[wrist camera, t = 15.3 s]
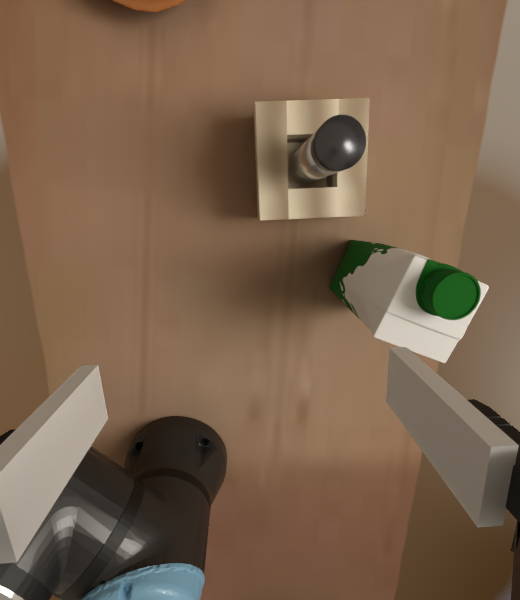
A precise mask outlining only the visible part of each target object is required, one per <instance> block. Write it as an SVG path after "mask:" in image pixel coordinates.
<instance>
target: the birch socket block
mask: <svg viewBox="0 0 520 600" xmlns="http://www.w3.org/2000/svg"><path fill="white" fill-rule="evenodd" d="M369 100H370V98H353V99H323V100H293V101H263V102H255V108H254V137H255V161H256V185H257V208H258V219H259V220H281V219H303V218H326V217H348V216H365V200H366V175H367V150H368V125H369ZM336 115H349V116H351V117H353V118H355V119H356V120H358V121H359V122H360V124H361V125H362V127H363V129H364V131H365V134H366V147H365V151H364V153H363V156H362V157H361V159H360V160H359V161H358V162H357V163H356V164H355V165H354V166H352V167H351V168H348V169H346V170H343V171H340V172H337V173H335V174H332V175H329V176H326V177H324V178H321V179H318V180H315V181H312V182H310V183H305V184H304V183H299V182H297V181H295V180H294V179H293V178H292V177H291V175H290V172H289V161H290V158H291V157H292V155H293V154H294V153H295V152H296V151H297V150H298V149H299V148H300V147H301V146H302V145H303V144H304V143H305V142H306V141H307V140H308V139H309V138H310V136H311V135H312V134H313V133H314V132H315V131H316V130H317V129H318V128H319V127H320V126H321V125H322V124H323V123H324V122H325V121H326V120H328V119H329V118H331V117H333V116H336Z"/></svg>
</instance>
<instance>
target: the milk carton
mask: <svg viewBox="0 0 520 600" xmlns="http://www.w3.org/2000/svg"><path fill="white" fill-rule="evenodd" d="M329 288H330V289H331V290H332V291H333V292H334V293H335V294H336V295H337V297H338V298H339V299H340V300H341V301H342V302H343V303H344V304H345V305H346V306H347V307H348V308H349V309H350V310H351V311H352V312H353V313H354V314H355V315H356V316H357V317H358V318H359V319H360V320H361V321H362V322H363V323H364V324H365V325H366V326H367V327H368V328H369V329H370V330H371V332H372V334H373V337H375V338H377V339H380V340H383V341H386V342H388V343H391V344H394V345H396V346H399V347H407V348H408V349H409V350H410V351H413V352H416V353H418V354H421V355H424V356H426V357H429V358H432V359H435V360H437V361H440V362H443V363H446V361H447V359H448V358H449V356H450V354H451V352H452V351H453V349H454V347H455V345H456V344H457V342H458V340H461V338H462V337H463V335H464V333H465V331H466V329H467V326H468V324H469V323H470V321H471V319H472V318H473V316H474V314H475V312H476V310H477V309H478V307H479V305H480V303H481V301H482V300H483V298H484V296H485V294H486V292H487V290H488V289H489V287H488V285H486V284H484V283H481V282H479V281H477V279H475V278H474V277H473V276H472V275H469V274H468V273H464V272H462V271H461V270H459V269H457V268H455V267H453V266H450V265H447V264H442V263H439V262H436V261H434V260H431V259H429V258H427V257H425V256H422V255H420V254H417V253H413V252H410V251H406V250H403V249H399V248H396V247H392V246H388V245H384V244H380V243H372V242H364V241H356V240H351V241H350V243H349V245H348V248H347V250H346V252H345V254H344V256H343V259H342V261H341V263H340V265H339V267H338V270H337V272H336V274H335V276H334V278H333V281H332V283H331V285H330V287H329Z"/></svg>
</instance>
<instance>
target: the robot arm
mask: <svg viewBox="0 0 520 600" xmlns="http://www.w3.org/2000/svg"><path fill="white" fill-rule="evenodd" d="M386 402H387V403H388V404H389V406H390V407H391V409H392V410H393V411H394V413H395V414H396V415H397V417H398V418H399V420H400V421H401V422H402V424H403V425H404V426H405V428H406V429H407V431H408V432H409V433H410V435H411V436H412V437H413V439H414V440H415V442H416V443H417V444H418V446H419V447H420V448H421V450H422V451H423V453H424V454H425V455H426V456H427V458H428V460H429V461H430V462H431V464H432V465H433V466H434V468H435V469H436V471H437V472H438V473H439V475H440V476H441V477H442V478H443V480H444V481H445V483H446V484H447V486H448V487H449V488H450V490H451V491H452V493H453V494H454V495H455V497H456V498H457V499H458V500H459V502H460V504H461V505H462V506H463V508H464V509H465V510H466V512H467V513H468V515H469V516H470V517H471V519H472V520H473V522H474V523H475V524H476V526H477V527H489V526H502V525H504V519H505V514H506V509H508V510H509V511H510V513H512V515H513V516H514V517H515V518H516V519H517V524H516V529H515V534H514V539H513V543H512V549H511V551H513V552H514V559H513V576H512V591H511V600H520V432H519V431H518V430H517V429H515V428H514V427H513V426H510V424H509V423H508V422H507V421H506V420H505V419H503V418H501V416H500V415H499V414H497V413H496V412H495V411H493V410H492V409H491V408H490V407H488V406H486V405H484V404H482V403H480V402H478V401H477V400H474V399H473V400H466V399H465V398H464V397H463V396H462V395H461V394H459V393H458V392H457V391H456V390H455V389H454V388H453V387H451V386H450V385H449V384H448V383H447V382H446V381H445V380H443V379H442V378H441V377H440V376H439V375H438V374H437V373H435V372H434V371H433V370H432V369H431V368H430V367H429V366H427V365H426V364H425V363H424V362H423V361H422V360H421V359H419V358H418V357H417V356H416V355H415V354H414V353H413V352H411V351H410V350H409V349H408V348H407V347H397V348H390V351H389V367H388V382H387V397H386ZM107 420H108V415H107V410H106V405H105V399H104V394H103V388H102V383H101V378H100V372H99V367H98V365H86V366H80V367H79V368H78V369H77V370H76V371H75V372H74V373H73V374H72V375H71V376H70V377H69V378H68V379H67V380H66V381H65V382H64V383H63V384H62V385H61V386H60V387H59V388H58V389H57V390H56V391H54V392H53V393H52V394H51V395H50V396H49V397H48V398H47V399H46V400H45V401H44V403H42V404H41V405H40V406H39V407H38V408H37V409H36V410H35V411H34V412H33V413H32V414H31V415H30V416H29V417H28V418H27V419H26V420H25V421H24V422H23V423H22V424H21V425H20V426H19V427H18V428H17V429H16V430H9V431H8V432H6V433H5V434H3V435H1V436H0V600H49V599H50V598H51V596H52V595H54V596H56V597H58V598H60V599H62V600H200V597H201V592H202V588H203V586H204V581H205V580H204V568H205V558H206V548H207V537H208V527H209V518H210V508H211V505H212V503H213V501H214V499H215V497H216V495H217V493H218V491H219V489H220V487H221V485H222V483H223V481H224V478H225V474H226V466H227V452H226V448H225V445H224V443H223V441H222V439H221V438H220V436H219V435H218V434H217V433H216V432H215V431H214V430H213V429H212V428H211V427H209V426H208V425H206V424H205V423H203V422H201V421H198V420H196V419H192V418H188V417H178V416H176V417H166V418H162V419H159V420H156V421H154V422H152V423H150V424H148V425H147V426H145V427H144V428H143V429H142V430H140V432H139V433H138V434H137V435H136V436H135V438H134V440H133V442H132V444H131V446H130V448H129V450H128V453H127V456H126V461H125V469H123V468H122V467H120V466H119V465H117V464H116V463H114V462H113V461H111V460H110V459H108V458H107V457H106V456H104V455H103V454H101V453H100V452H98V451H97V450H96V449H94V448H93V447H91V445H92V443H93V442H94V440H95V439H96V437H97V436H98V434H99V432H100V431H101V429H102V428H103V426H104V424H105V423H106V421H107Z"/></svg>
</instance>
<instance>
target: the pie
mask: <svg viewBox="0 0 520 600" xmlns="http://www.w3.org/2000/svg"><path fill="white" fill-rule="evenodd" d="M112 1H114V2H116V3H119V4H121V5H123V6H126V7H128V8H130V9H133V10H137V11H146V12H155V13H157V12H160V11H163V10H166V9H169V8H172V7H175V6H177V5H179V4H181V3H183V2H185V1H186V0H112Z"/></svg>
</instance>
